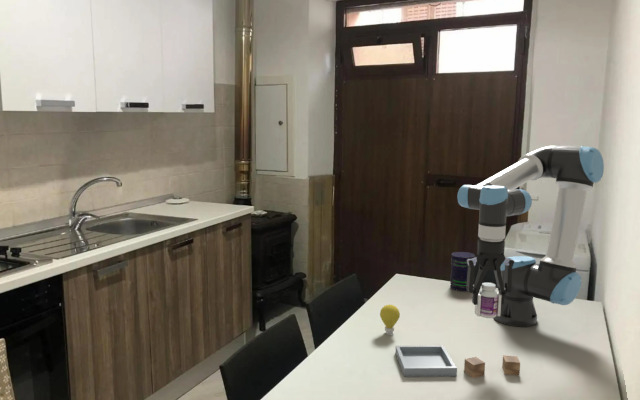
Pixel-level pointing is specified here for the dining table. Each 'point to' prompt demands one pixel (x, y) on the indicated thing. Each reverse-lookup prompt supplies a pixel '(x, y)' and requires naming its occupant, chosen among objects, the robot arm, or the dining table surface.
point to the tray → (425, 361)
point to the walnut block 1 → (474, 367)
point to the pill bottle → (488, 300)
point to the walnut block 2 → (511, 365)
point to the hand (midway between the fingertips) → (487, 314)
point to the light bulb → (389, 317)
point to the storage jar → (459, 270)
